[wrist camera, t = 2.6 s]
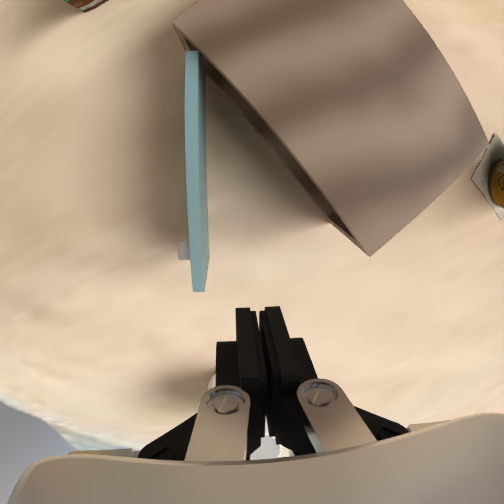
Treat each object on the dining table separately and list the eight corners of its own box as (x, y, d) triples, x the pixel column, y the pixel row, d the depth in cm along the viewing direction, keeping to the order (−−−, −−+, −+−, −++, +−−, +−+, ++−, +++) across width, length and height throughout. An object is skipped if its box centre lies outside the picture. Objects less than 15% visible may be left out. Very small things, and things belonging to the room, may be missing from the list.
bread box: (188, 56, 23) (171, 21, 15) (307, -20, 21) (335, -67, 12) (330, 223, 29) (369, 256, 21) (430, 139, 27) (489, 145, 18)
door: (181, 74, 23) (166, 52, 16) (205, 73, 23) (198, 50, 16) (187, 256, 28) (176, 292, 22) (209, 256, 28) (204, 291, 22)
